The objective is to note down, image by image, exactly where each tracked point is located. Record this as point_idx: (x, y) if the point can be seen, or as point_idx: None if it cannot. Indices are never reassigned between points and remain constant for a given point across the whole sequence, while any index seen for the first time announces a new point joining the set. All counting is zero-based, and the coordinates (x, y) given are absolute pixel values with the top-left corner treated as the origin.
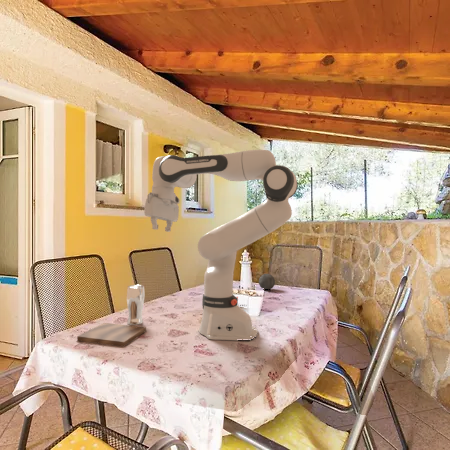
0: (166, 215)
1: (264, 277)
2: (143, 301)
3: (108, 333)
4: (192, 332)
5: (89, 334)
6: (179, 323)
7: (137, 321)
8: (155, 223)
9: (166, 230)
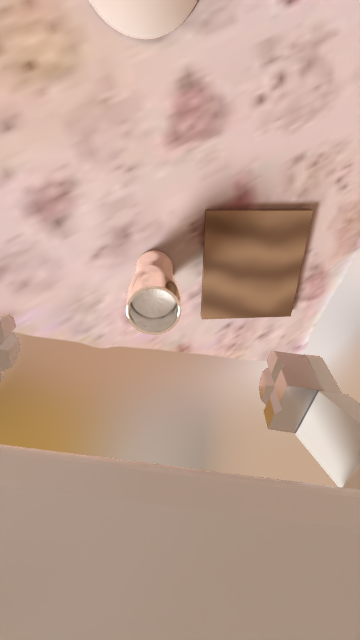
0: (45, 546)
1: None
2: (150, 267)
3: (265, 272)
4: (177, 59)
5: (277, 302)
6: (112, 143)
7: (166, 258)
8: (356, 411)
9: (11, 346)
